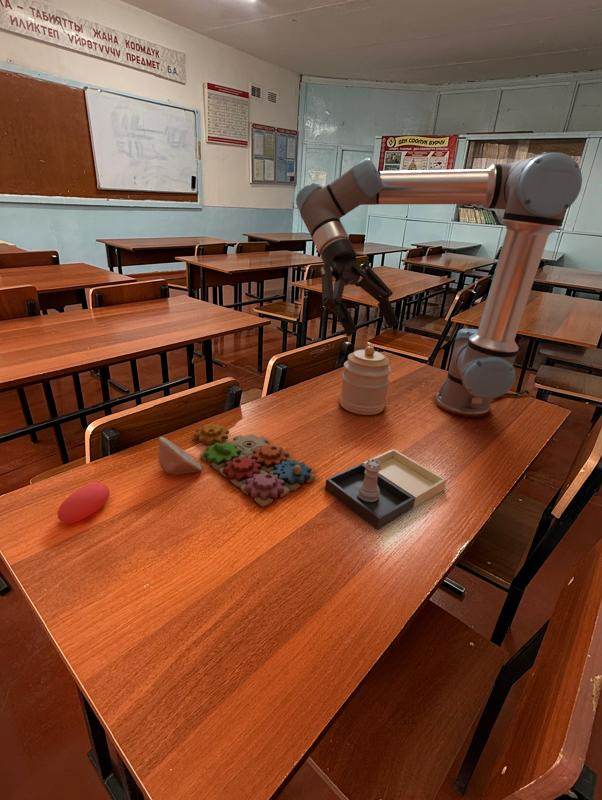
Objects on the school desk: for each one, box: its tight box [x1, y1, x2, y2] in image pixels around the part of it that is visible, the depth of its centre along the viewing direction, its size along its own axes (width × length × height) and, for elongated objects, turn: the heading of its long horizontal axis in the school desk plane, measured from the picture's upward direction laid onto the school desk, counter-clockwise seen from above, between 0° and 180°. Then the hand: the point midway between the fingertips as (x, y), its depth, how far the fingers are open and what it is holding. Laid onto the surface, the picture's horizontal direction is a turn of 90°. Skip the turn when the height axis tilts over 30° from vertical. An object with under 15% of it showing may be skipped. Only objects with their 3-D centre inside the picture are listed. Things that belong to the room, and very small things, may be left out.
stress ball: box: [56, 481, 111, 524], centre depth 76 cm, size 5×9×6 cm, turn 145°
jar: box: [339, 345, 392, 416], centre depth 120 cm, size 13×13×18 cm
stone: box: [158, 436, 203, 476], centre depth 88 cm, size 10×7×10 cm
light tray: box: [362, 448, 447, 509], centre depth 92 cm, size 10×14×2 cm
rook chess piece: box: [357, 458, 381, 503], centre depth 84 cm, size 4×4×8 cm
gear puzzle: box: [193, 423, 316, 507], centre depth 94 cm, size 31×16×4 cm, turn 45°
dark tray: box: [324, 462, 415, 530], centre depth 85 cm, size 10×14×2 cm
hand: (374, 329), depth 96 cm, fingers open, 13 cm apart
